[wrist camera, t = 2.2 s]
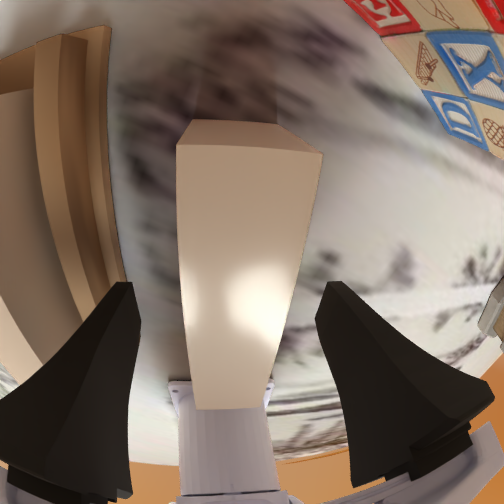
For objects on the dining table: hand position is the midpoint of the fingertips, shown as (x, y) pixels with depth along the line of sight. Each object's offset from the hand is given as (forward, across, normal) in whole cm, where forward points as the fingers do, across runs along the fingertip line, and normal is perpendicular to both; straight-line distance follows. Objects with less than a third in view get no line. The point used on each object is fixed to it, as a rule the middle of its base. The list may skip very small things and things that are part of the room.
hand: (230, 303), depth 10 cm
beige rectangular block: (+3, 0, 0) cm, 4 cm away
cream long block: (+2, +9, -2) cm, 10 cm away
